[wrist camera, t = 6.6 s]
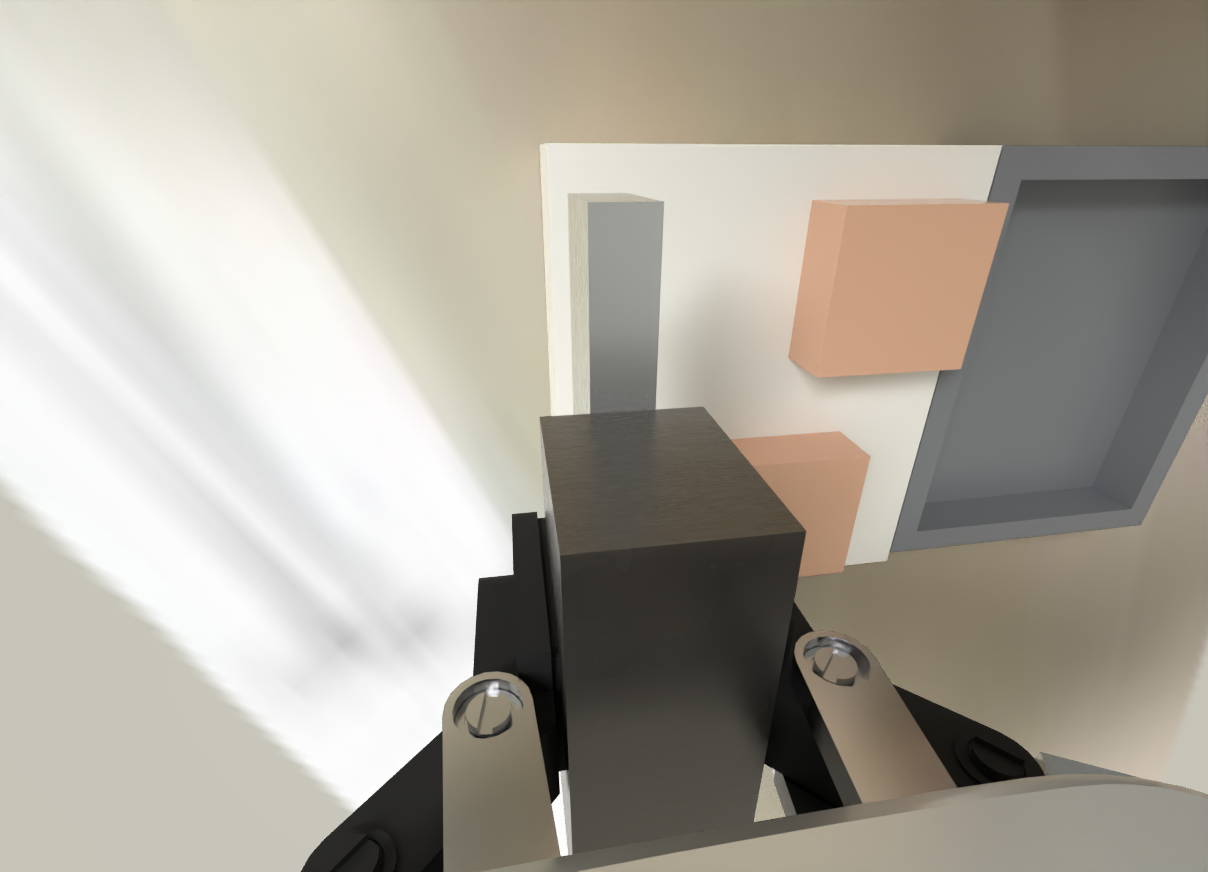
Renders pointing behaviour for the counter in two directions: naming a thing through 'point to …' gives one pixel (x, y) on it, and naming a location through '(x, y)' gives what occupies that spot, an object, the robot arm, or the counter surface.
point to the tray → (1072, 351)
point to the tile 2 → (892, 284)
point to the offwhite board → (758, 289)
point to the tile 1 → (814, 489)
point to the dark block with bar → (655, 565)
